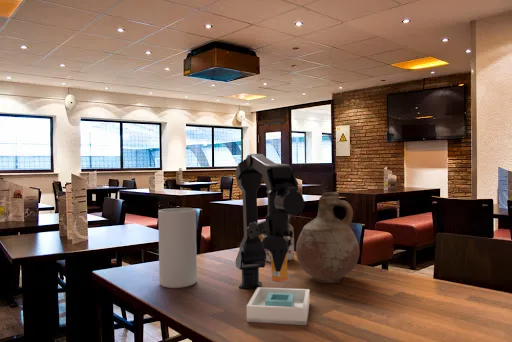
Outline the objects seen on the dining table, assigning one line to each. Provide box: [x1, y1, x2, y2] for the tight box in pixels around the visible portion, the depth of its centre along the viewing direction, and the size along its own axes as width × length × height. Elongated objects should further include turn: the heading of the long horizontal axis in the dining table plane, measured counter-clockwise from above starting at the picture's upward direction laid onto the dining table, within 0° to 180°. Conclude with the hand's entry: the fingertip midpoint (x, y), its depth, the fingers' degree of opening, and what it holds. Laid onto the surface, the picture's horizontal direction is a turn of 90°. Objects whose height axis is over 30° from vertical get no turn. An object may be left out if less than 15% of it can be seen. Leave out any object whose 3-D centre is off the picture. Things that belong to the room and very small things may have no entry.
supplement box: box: [270, 253, 289, 283], centre depth 107 cm, size 3×3×10 cm
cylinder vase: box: [157, 207, 198, 289], centre depth 136 cm, size 12×12×25 cm
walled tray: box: [246, 286, 311, 326], centre depth 107 cm, size 16×15×4 cm
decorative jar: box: [258, 223, 295, 263], centre depth 169 cm, size 12×12×18 cm
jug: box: [295, 191, 361, 284], centre depth 137 cm, size 22×22×30 cm
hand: (279, 269), depth 107 cm, fingers closed on supplement box, 4 cm apart
